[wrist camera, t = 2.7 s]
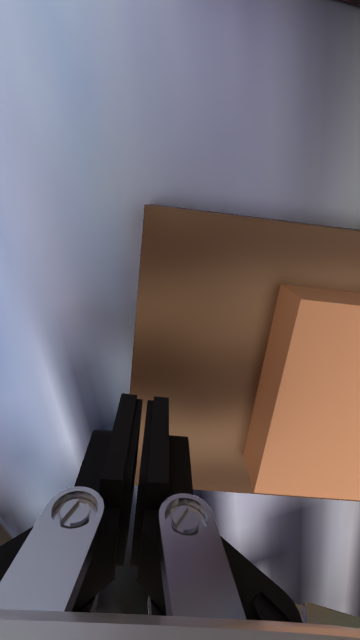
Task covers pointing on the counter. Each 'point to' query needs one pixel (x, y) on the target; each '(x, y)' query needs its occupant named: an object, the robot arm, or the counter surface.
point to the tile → (308, 398)
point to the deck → (221, 322)
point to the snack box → (353, 2)
